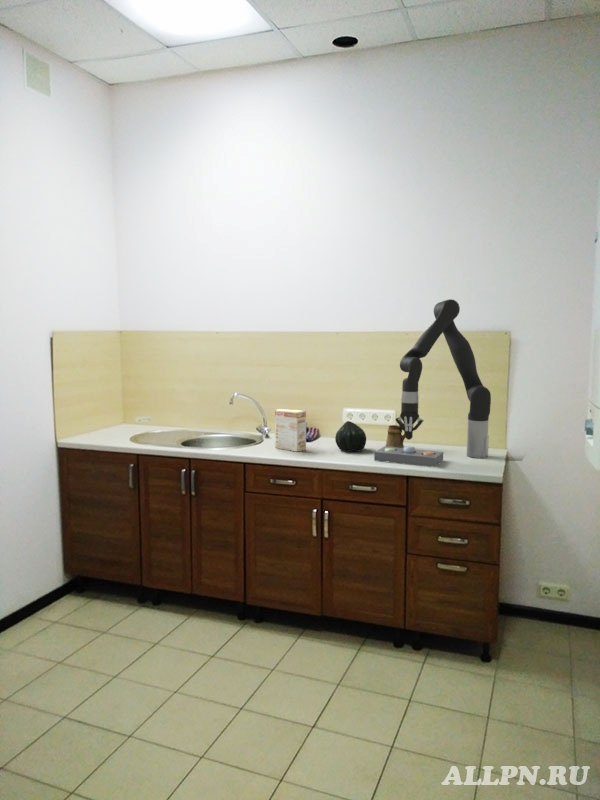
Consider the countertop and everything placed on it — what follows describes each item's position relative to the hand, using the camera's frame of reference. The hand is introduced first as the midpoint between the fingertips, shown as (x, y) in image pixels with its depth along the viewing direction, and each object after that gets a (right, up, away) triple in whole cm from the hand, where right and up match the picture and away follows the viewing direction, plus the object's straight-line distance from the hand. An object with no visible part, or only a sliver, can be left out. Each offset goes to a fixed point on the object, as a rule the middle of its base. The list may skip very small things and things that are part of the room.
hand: (408, 439), depth 278 cm
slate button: (0, -7, +1) cm, 7 cm away
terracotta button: (+8, -9, -3) cm, 13 cm away
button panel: (0, -10, +1) cm, 10 cm away
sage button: (-8, -8, +5) cm, 12 cm away
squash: (-24, -7, +23) cm, 35 cm away
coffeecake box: (-54, -7, +27) cm, 61 cm away
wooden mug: (0, -7, +27) cm, 28 cm away
